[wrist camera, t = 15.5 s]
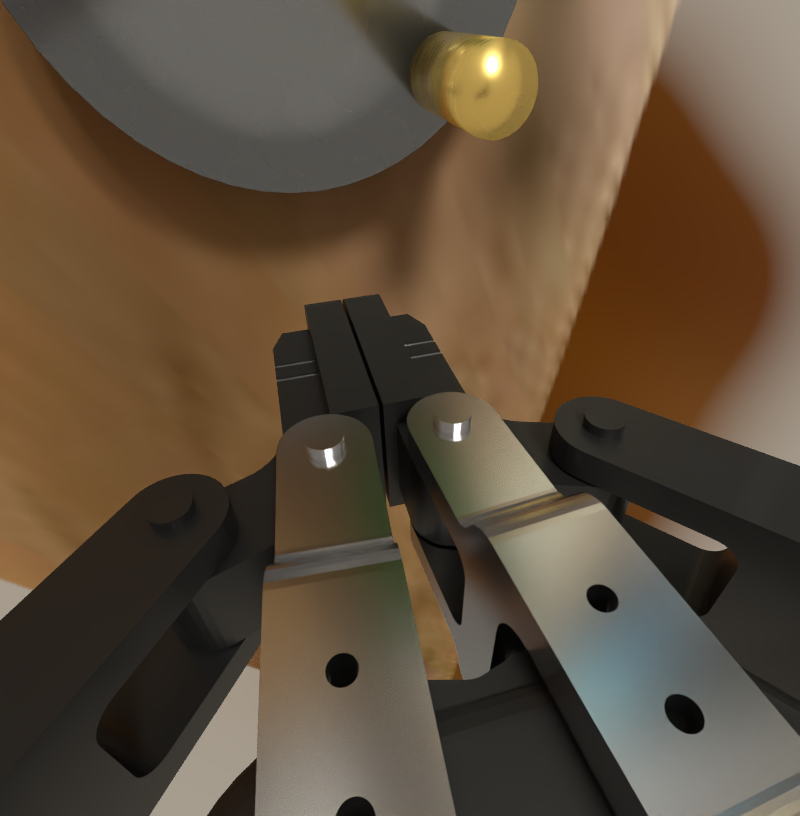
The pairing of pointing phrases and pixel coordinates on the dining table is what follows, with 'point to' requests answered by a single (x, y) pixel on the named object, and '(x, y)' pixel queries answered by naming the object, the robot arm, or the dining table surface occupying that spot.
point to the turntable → (288, 79)
